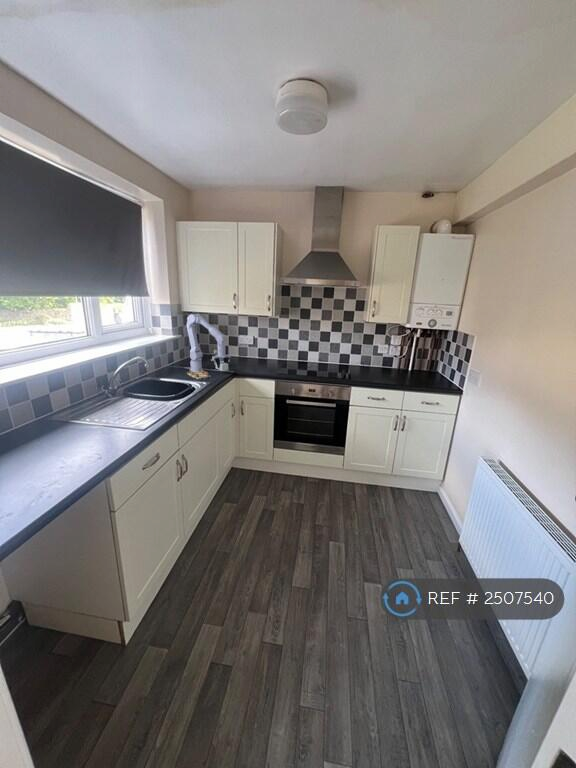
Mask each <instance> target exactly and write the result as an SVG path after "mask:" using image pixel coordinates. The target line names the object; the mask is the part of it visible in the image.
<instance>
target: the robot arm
mask: <svg viewBox="0 0 576 768" xmlns="http://www.w3.org/2000/svg"><path fill="white" fill-rule="evenodd" d="M186 320H187V321H186V328H187V329H186V330H187V334H188V338H189V343H190V347H191V348H190V350H189V358H190V362H189V364H190V368H189V371H190V370H191V371H193V372H198V371H199V369H201V370H203V369H202V368H203V366H202V358H203V357H204V355H203V354H204V353H203V351H202V350H201V348H200V347H199V343H198V338H197V334H196V333H197V332H196V329H195V327H196V325H197V324H200V325H202V326H203V327H204V328H206V329H207V330H208V332H209V333H210V335H211V336H212V337H214V339H215V340H216V342H217V351H218V356H216V355H213V356H212V359H214V360H215V361H216V364H217V367H218V368H220V360H219V358H223V360H224V363H227V364H228V360H229V359H231V354H226V340H227V336H226V335H225V334H224V333H222V332H221V331H220V330H219V329H218V328H217V327H215V326H212V325H211V324H209V323H208V321H207V320H205V319H204V316H202V315H201V314H199V313H196V314H192V313H190V314H189V315H188V316H187V318H186ZM215 361H214V362H215ZM203 371H205V370H203Z"/></svg>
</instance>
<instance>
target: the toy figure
mask: <svg viewBox="0 0 576 768" xmlns="http://www.w3.org/2000/svg"><path fill="white" fill-rule="evenodd" d="M213 354H215V356H218V349H214V350H213ZM230 359H231V358H229V360H228V362H230ZM219 360H220V361H222V362H224V360H223V358H219ZM210 361H211V362H214V364H213V365H215V366H216V361H215V360H214V359H210ZM228 362H227V363H228Z"/></svg>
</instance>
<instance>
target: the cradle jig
mask: <svg viewBox="0 0 576 768" xmlns="http://www.w3.org/2000/svg"><path fill="white" fill-rule="evenodd" d="M186 375H188V376H190V377H192V378H194V379H195V378H196V379H195V380H202V379H201V378H203V379H207V378H208V377H210V378H212V375H210V373H209V372H208V371H205V370H204V371H203V369H202V370H201V369H199V371H198V372H193V371H191V370H190V369H189V370H188V372H186ZM208 379H209V378H208Z"/></svg>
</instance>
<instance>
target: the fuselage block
mask: <svg viewBox="0 0 576 768" xmlns="http://www.w3.org/2000/svg"><path fill="white" fill-rule="evenodd" d="M215 369H216V370H219V371H221V372H226V371H229V363H228V362H227V363H224V362H222V361H220V368H218V367H217V364H216V365H215Z"/></svg>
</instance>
